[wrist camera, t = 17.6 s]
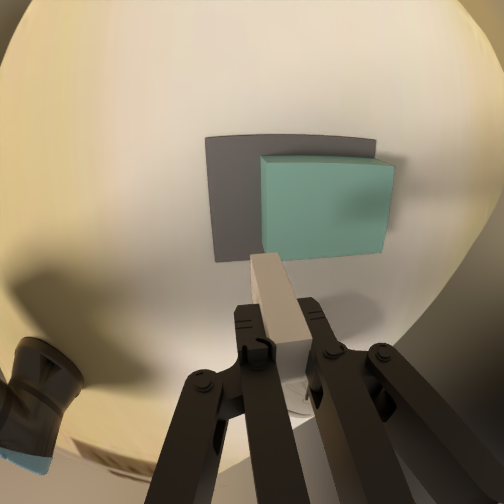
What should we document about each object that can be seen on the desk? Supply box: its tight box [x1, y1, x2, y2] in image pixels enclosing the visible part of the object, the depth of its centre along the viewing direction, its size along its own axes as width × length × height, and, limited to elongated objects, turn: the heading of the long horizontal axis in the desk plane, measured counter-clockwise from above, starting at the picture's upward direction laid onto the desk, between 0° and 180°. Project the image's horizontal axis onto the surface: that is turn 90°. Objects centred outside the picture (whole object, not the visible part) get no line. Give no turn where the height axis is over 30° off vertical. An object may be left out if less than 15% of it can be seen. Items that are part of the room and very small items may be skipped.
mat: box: [205, 135, 375, 262], centre depth 27 cm, size 17×13×1 cm
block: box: [260, 155, 395, 261], centre depth 25 cm, size 4×9×12 cm
